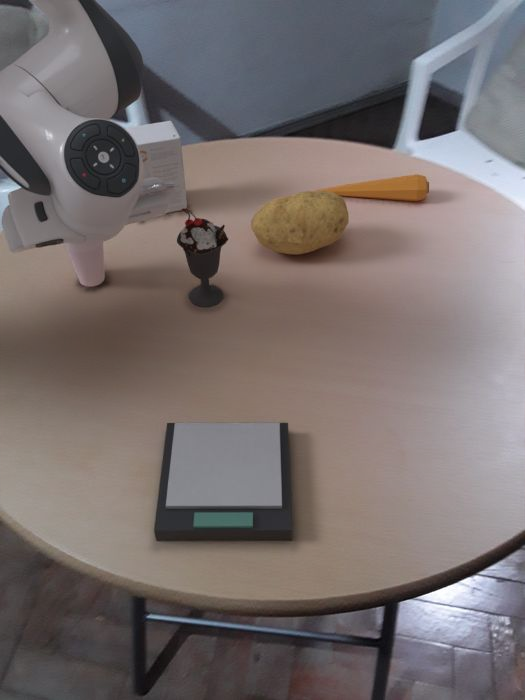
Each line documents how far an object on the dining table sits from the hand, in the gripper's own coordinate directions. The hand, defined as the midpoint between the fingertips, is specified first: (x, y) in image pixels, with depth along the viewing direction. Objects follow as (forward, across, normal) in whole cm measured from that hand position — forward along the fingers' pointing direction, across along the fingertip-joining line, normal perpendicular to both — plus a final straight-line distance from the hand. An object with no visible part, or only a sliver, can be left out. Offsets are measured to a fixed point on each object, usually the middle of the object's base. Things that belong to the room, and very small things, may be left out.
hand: (85, 229), depth 91 cm
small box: (+21, -16, -5) cm, 26 cm away
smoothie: (+10, 0, +5) cm, 12 cm away
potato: (+6, -31, +10) cm, 33 cm away
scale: (-19, -4, +35) cm, 40 cm away
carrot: (+12, -49, +4) cm, 51 cm away
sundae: (+3, -14, +13) cm, 19 cm away
